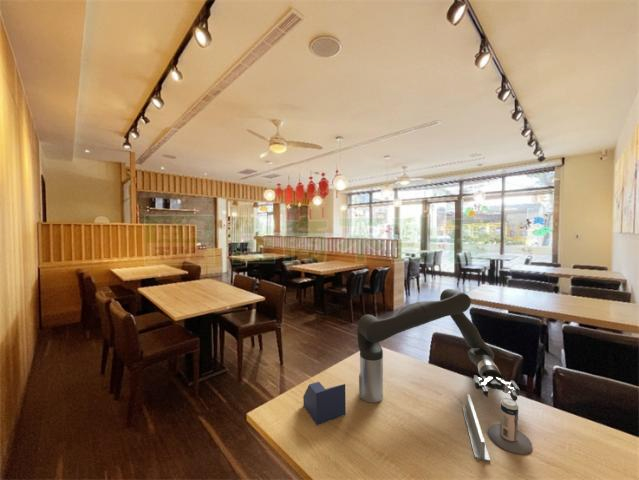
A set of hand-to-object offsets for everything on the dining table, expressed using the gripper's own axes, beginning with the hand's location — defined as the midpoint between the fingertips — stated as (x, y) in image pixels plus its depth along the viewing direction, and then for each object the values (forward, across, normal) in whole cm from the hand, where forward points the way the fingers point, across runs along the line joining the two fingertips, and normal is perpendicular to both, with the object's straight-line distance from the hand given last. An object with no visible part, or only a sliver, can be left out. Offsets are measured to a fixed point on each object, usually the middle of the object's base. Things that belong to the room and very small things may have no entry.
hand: (500, 396), depth 99 cm
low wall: (+10, -10, +8) cm, 16 cm away
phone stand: (+15, -62, +8) cm, 64 cm away
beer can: (+10, 0, +8) cm, 12 cm away
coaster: (+10, 0, +8) cm, 13 cm away
